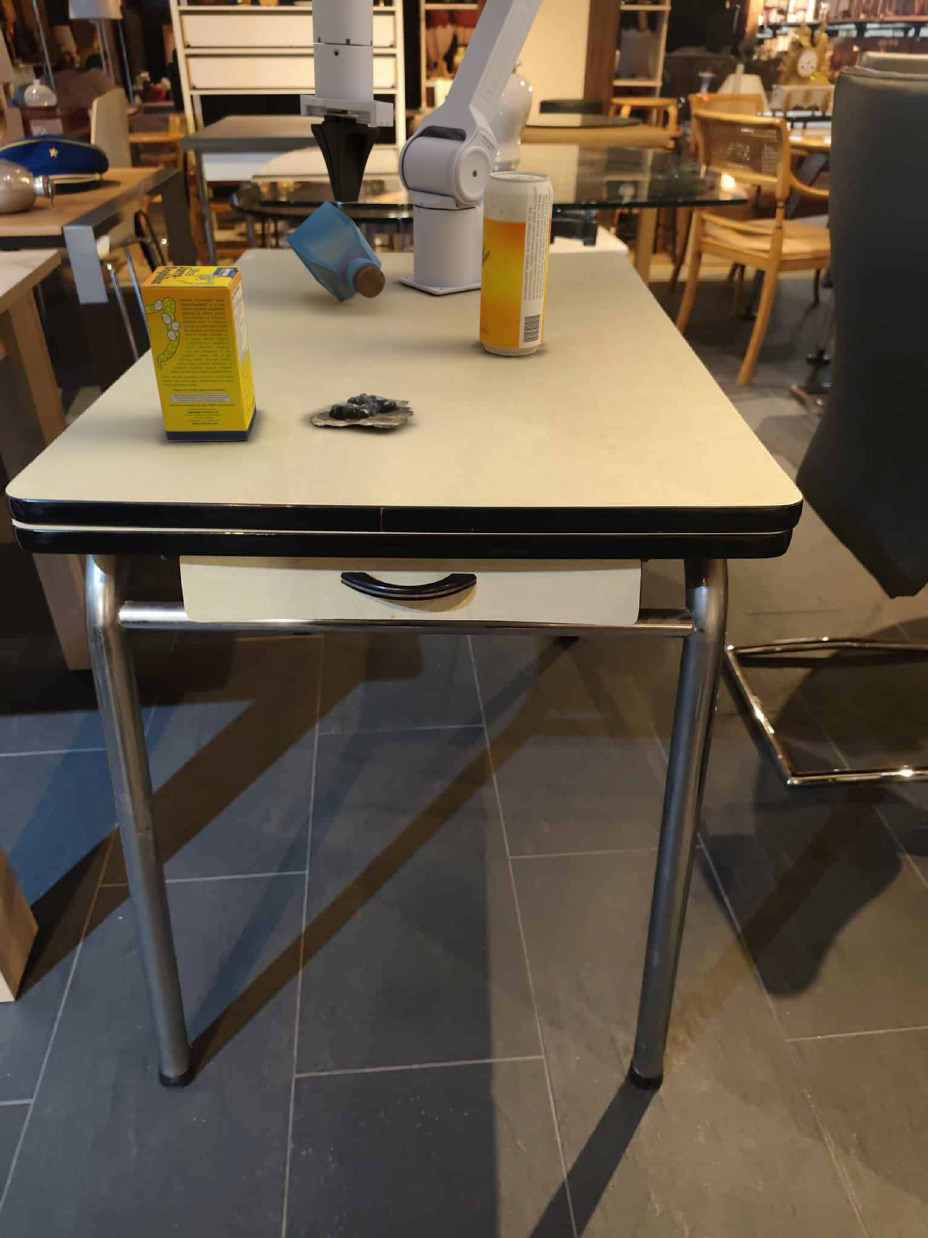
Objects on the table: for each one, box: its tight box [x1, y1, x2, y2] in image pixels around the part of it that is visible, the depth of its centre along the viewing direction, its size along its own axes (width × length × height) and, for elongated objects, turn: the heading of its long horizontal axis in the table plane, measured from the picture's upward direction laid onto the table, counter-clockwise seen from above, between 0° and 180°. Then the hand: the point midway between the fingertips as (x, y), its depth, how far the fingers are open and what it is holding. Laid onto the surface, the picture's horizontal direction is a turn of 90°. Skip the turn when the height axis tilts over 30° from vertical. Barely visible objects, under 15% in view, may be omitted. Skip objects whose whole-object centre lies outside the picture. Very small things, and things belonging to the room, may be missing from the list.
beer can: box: [478, 170, 554, 357], centre depth 81 cm, size 6×6×15 cm
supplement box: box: [139, 265, 257, 443], centre depth 63 cm, size 6×6×11 cm
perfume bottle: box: [284, 200, 386, 303], centre depth 96 cm, size 6×6×12 cm
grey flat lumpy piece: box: [309, 392, 415, 429], centre depth 68 cm, size 7×8×2 cm
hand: (346, 201), depth 92 cm, fingers closed
